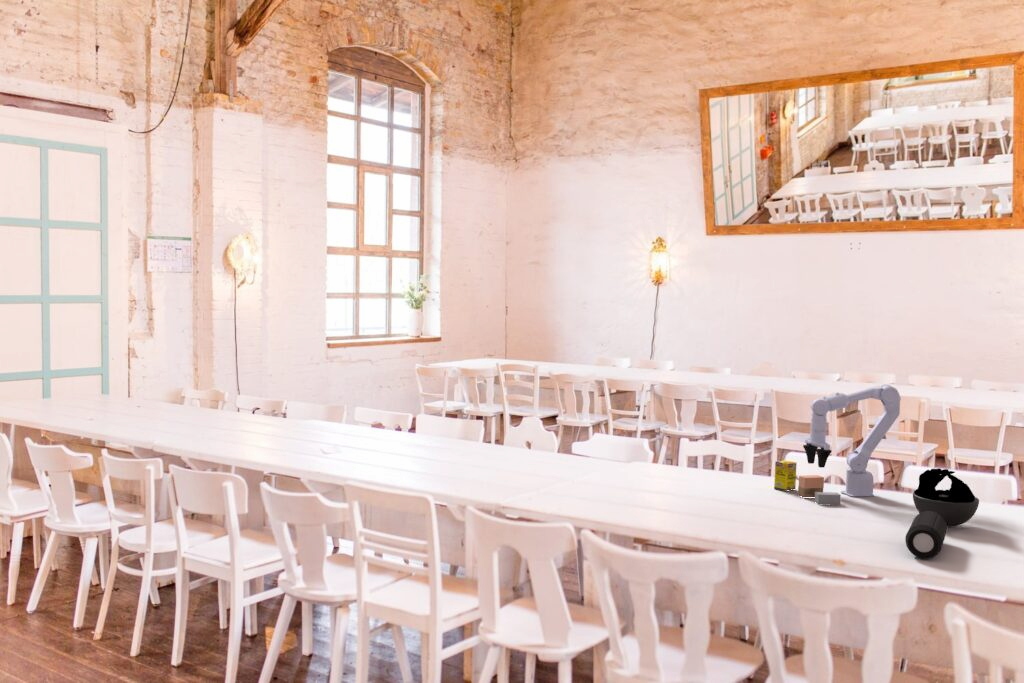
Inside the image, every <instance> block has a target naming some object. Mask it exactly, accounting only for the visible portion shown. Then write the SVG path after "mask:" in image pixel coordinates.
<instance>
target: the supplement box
mask: <svg viewBox="0 0 1024 683" xmlns="http://www.w3.org/2000/svg"><path fill="white" fill-rule="evenodd" d="M774 468H775V469H774V487H773V489H774V490H777V489H779V490H778V491H782V490H791V489H795V490H796V486H797V483H796V482H797V462H795V461H790V460H785V459H784V460H778V461H775V465H774ZM791 491H792V490H791Z"/></svg>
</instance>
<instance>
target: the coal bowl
mask: <svg viewBox="0 0 1024 683" xmlns="http://www.w3.org/2000/svg"><path fill="white" fill-rule="evenodd" d="M954 473H956V471H953V470H949V469H946V468H944V469H941V468H931V469H926V470H924V471H923V472H922V473H921V474H919V477H918V487H917V488H916V489H914V490H913V492H912V500H913V503H914V507H915V509H916V510H917V512H918V514H919V513H921V512H924V511H933V512H936V513H938V514H939V515H941V516H942V517H943V518H944V519H945V521H946V523H947V528H953V527H958V526H961V525H963V524H965V523H967V522H969V520H971V519H972V518H973V517H974V515H975V514H976V512H977V510H978V508H979V504H980V499H979V498H978V497H977V496H975V494H974V493H973V492H972V490H971V489H970V487H969V485H968V484H967V483H965V482H964V481H963V480H962V479H960V478H958V477H957V476H955V475H954ZM946 477H947V478H948V479H949V480H950V481H951V484H950V488H949V489H945V490H944V489H936V487H937V486H938V485H939V484H940V483H941V482H942V481H943V480H944V479H945V478H946Z"/></svg>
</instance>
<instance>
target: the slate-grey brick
mask: <svg viewBox="0 0 1024 683" xmlns="http://www.w3.org/2000/svg"><path fill="white" fill-rule="evenodd" d="M815 502H816V503H817V504H816V503H815ZM814 503H815V504H816V505H818V504H830V505H829V506H841V494H840V493H839V492H831V491H830V492H829V491H828V492H827V491H826V492H825V491H823V492H815V498H814Z"/></svg>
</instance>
